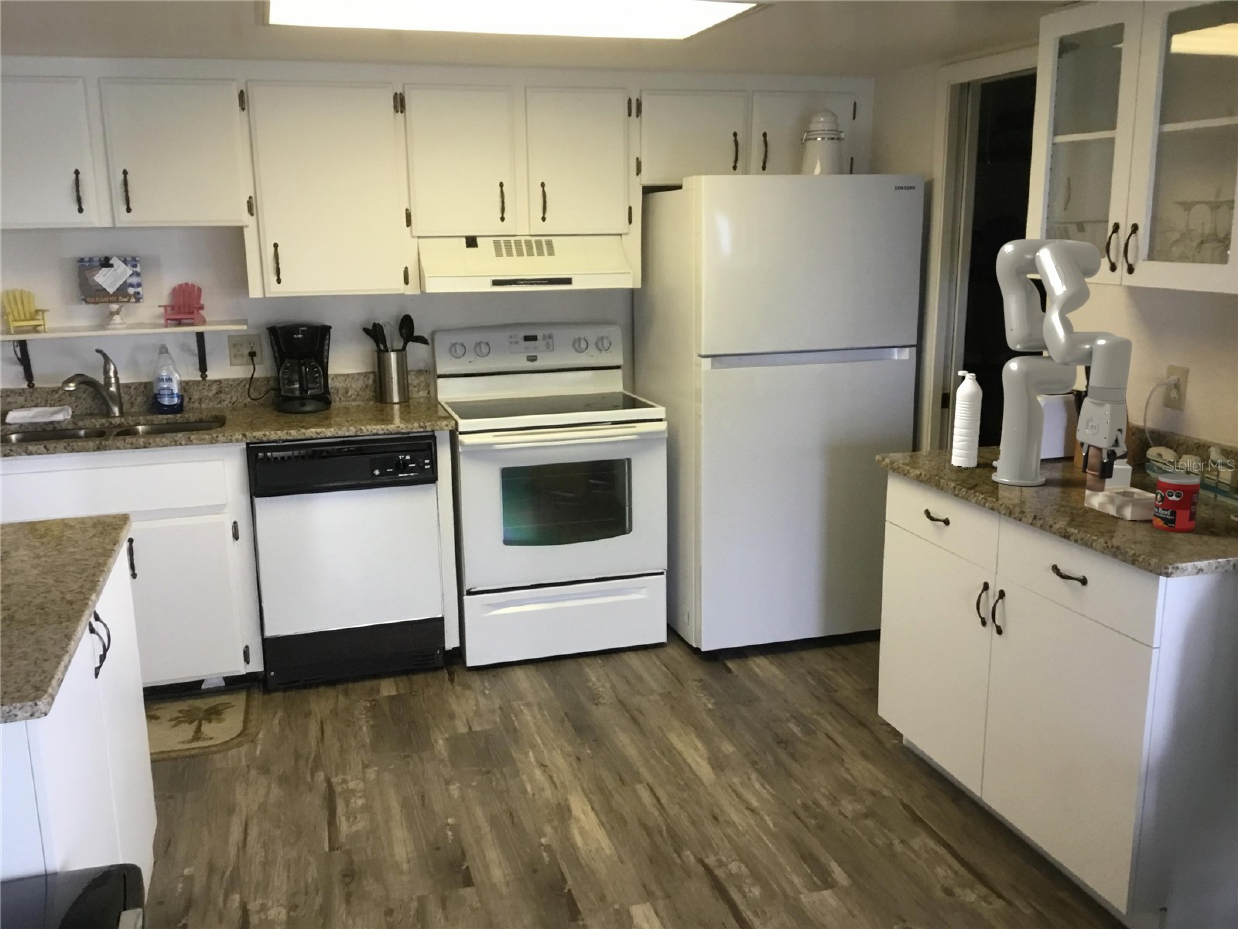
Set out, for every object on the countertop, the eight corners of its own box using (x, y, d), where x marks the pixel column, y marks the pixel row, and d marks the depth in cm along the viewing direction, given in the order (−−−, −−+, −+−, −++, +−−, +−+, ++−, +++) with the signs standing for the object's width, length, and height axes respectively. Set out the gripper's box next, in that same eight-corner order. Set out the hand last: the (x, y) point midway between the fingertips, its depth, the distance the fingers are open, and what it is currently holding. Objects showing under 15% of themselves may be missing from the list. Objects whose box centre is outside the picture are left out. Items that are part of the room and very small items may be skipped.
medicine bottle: (1129, 496, 245) (1135, 447, 243) (1097, 494, 247) (1102, 445, 244) (1121, 489, 252) (1126, 441, 250) (1090, 487, 254) (1095, 440, 251)
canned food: (1144, 523, 222) (1150, 473, 220) (1180, 522, 223) (1186, 472, 221) (1165, 533, 215) (1171, 481, 213) (1202, 532, 216) (1208, 481, 213)
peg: (1079, 487, 229) (1084, 444, 227) (1096, 486, 231) (1101, 442, 228) (1093, 493, 225) (1099, 448, 223) (1110, 491, 227) (1116, 447, 224)
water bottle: (981, 467, 276) (988, 374, 271) (958, 468, 275) (965, 375, 270) (965, 460, 284) (972, 370, 279) (943, 461, 283) (949, 371, 278)
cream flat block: (1084, 505, 237) (1086, 488, 236) (1123, 502, 240) (1125, 485, 239) (1129, 521, 224) (1131, 503, 223) (1170, 517, 227) (1172, 499, 226)
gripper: (1065, 388, 229) (1056, 467, 234) (1121, 402, 214) (1110, 486, 218) (1093, 386, 232) (1084, 465, 236) (1150, 400, 216) (1139, 484, 220)
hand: (1096, 474), depth 227 cm, fingers closed on peg, 4 cm apart
